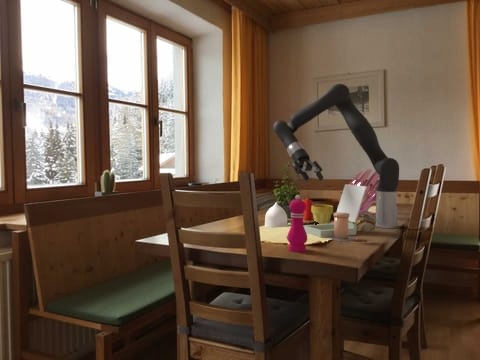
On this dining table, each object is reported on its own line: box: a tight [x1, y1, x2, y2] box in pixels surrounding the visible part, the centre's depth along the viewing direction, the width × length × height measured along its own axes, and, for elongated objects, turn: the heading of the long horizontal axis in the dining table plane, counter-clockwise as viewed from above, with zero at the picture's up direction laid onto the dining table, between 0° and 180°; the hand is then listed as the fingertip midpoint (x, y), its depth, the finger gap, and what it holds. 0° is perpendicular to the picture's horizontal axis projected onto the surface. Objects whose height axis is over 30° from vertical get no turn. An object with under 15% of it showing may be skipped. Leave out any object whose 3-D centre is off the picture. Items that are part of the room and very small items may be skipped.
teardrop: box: [264, 201, 289, 228], centre depth 205 cm, size 11×11×12 cm
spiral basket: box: [347, 168, 380, 218], centre depth 239 cm, size 28×28×27 cm
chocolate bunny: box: [357, 210, 377, 233], centre depth 190 cm, size 6×8×10 cm
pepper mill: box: [286, 194, 308, 253], centre depth 153 cm, size 7×7×20 cm
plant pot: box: [310, 204, 334, 224], centre depth 206 cm, size 10×10×10 cm
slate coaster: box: [326, 235, 359, 244], centre depth 171 cm, size 9×9×1 cm
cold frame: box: [303, 184, 367, 238], centre depth 183 cm, size 23×14×21 cm, turn 114°
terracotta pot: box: [333, 211, 349, 239], centre depth 171 cm, size 6×6×10 cm
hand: (315, 179), depth 188 cm, fingers open, 8 cm apart
